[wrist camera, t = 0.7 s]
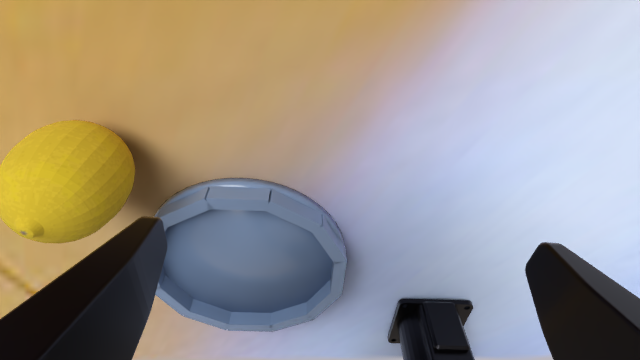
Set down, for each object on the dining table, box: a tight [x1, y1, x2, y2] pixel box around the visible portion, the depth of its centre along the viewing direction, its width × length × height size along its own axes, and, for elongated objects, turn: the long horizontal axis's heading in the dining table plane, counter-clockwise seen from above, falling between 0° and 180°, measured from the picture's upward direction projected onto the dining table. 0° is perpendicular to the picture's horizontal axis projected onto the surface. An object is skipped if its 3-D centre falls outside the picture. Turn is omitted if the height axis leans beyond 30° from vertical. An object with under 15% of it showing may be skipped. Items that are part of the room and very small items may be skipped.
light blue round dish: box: [154, 178, 347, 332], centre depth 28 cm, size 15×15×2 cm
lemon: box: [0, 120, 135, 243], centre depth 19 cm, size 6×6×8 cm
